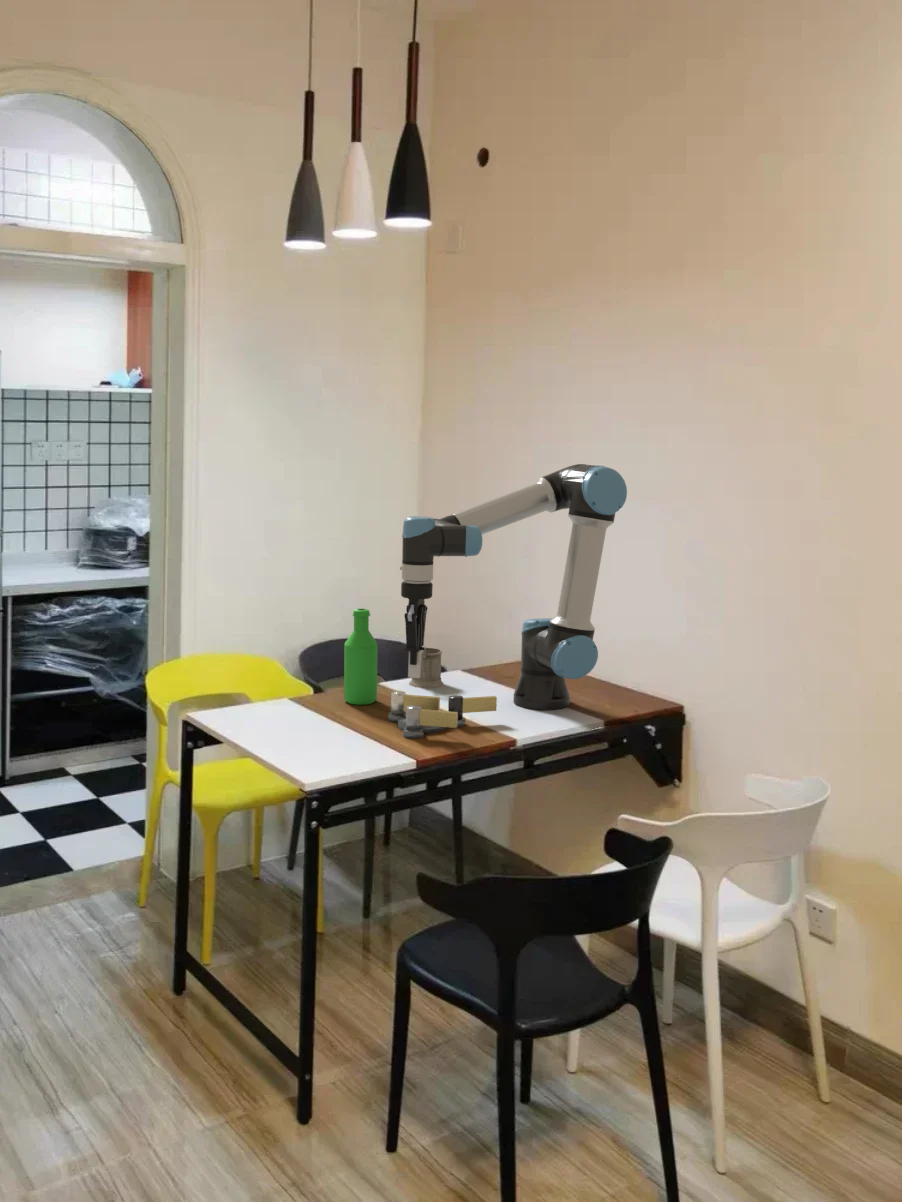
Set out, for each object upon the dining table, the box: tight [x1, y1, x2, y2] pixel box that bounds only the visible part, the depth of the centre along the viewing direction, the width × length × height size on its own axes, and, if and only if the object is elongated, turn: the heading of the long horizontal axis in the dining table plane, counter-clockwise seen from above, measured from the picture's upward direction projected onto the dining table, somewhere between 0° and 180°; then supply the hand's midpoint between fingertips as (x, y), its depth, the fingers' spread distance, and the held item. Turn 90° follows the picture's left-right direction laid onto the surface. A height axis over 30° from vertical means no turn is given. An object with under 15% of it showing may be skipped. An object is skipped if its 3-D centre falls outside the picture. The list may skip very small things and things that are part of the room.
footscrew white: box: [390, 690, 441, 716], centre depth 283 cm, size 12×4×6 cm, turn 77°
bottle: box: [343, 608, 378, 706], centre depth 300 cm, size 9×9×25 cm
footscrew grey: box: [405, 705, 458, 732], centre depth 270 cm, size 12×4×6 cm, turn 77°
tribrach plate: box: [387, 711, 466, 740], centre depth 277 cm, size 20×18×2 cm
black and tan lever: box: [447, 694, 498, 720], centre depth 283 cm, size 12×4×6 cm, turn 108°
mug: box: [408, 646, 444, 689], centre depth 320 cm, size 14×10×12 cm
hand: (414, 676), depth 276 cm, fingers closed
